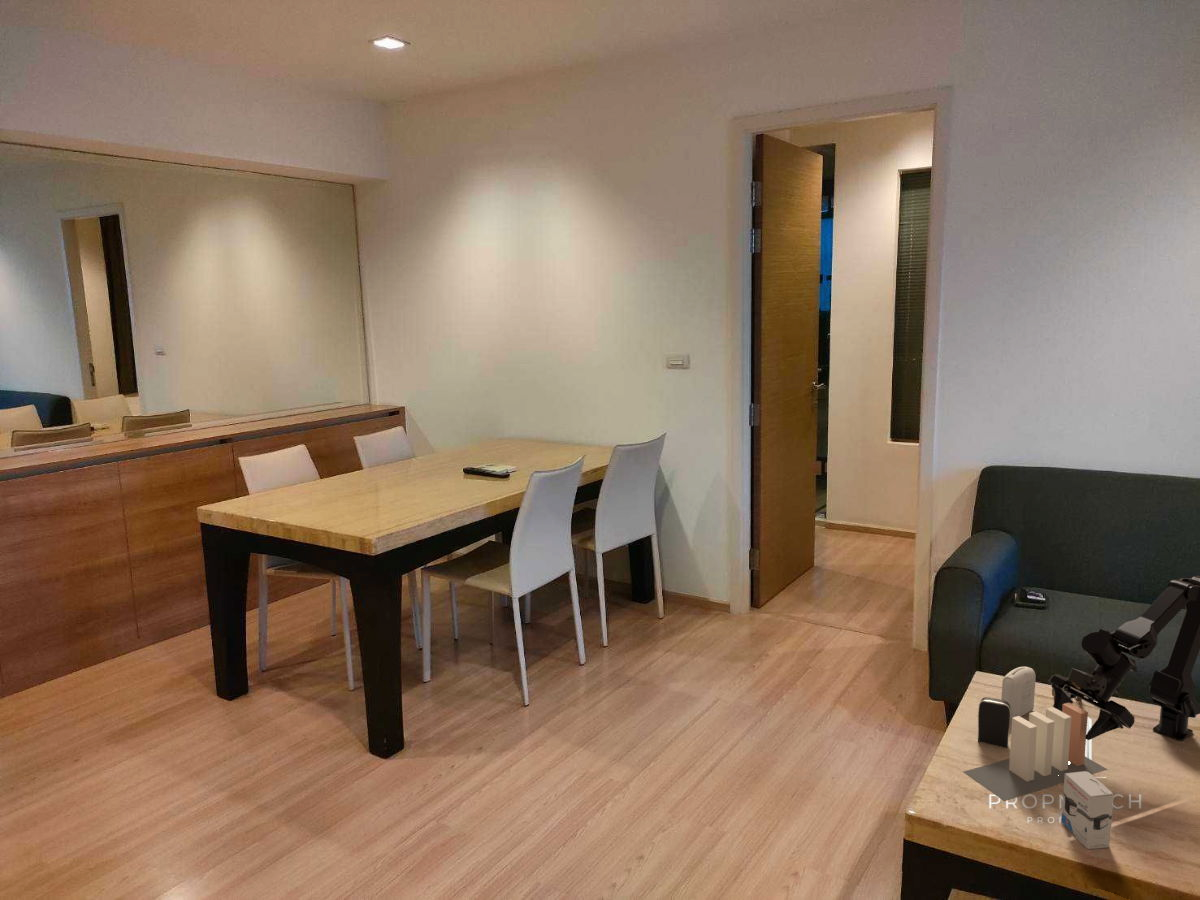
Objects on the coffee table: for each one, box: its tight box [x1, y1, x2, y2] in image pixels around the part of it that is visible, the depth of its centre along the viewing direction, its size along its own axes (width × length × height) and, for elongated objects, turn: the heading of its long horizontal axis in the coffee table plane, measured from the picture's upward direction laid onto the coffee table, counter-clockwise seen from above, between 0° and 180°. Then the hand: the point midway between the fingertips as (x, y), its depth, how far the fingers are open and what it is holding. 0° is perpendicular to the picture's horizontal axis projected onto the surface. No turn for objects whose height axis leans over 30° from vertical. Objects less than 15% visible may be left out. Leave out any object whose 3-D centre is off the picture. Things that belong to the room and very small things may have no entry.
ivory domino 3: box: [1045, 706, 1071, 771], centre depth 190 cm, size 2×5×13 cm, turn 20°
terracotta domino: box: [1062, 703, 1089, 766], centre depth 192 cm, size 2×5×13 cm, turn 19°
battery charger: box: [977, 696, 1011, 749], centre depth 201 cm, size 7×4×11 cm, turn 60°
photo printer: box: [1000, 666, 1037, 720], centre depth 215 cm, size 10×4×12 cm, turn 123°
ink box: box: [1061, 771, 1115, 850], centre depth 167 cm, size 8×5×12 cm, turn 5°
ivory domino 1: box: [1009, 716, 1037, 781], centre depth 187 cm, size 2×5×13 cm, turn 20°
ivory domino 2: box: [1028, 711, 1055, 776], centre depth 189 cm, size 2×5×13 cm, turn 19°
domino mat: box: [963, 756, 1108, 802], centre depth 190 cm, size 30×12×1 cm, turn 110°
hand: (1069, 729), depth 191 cm, fingers open, 9 cm apart
